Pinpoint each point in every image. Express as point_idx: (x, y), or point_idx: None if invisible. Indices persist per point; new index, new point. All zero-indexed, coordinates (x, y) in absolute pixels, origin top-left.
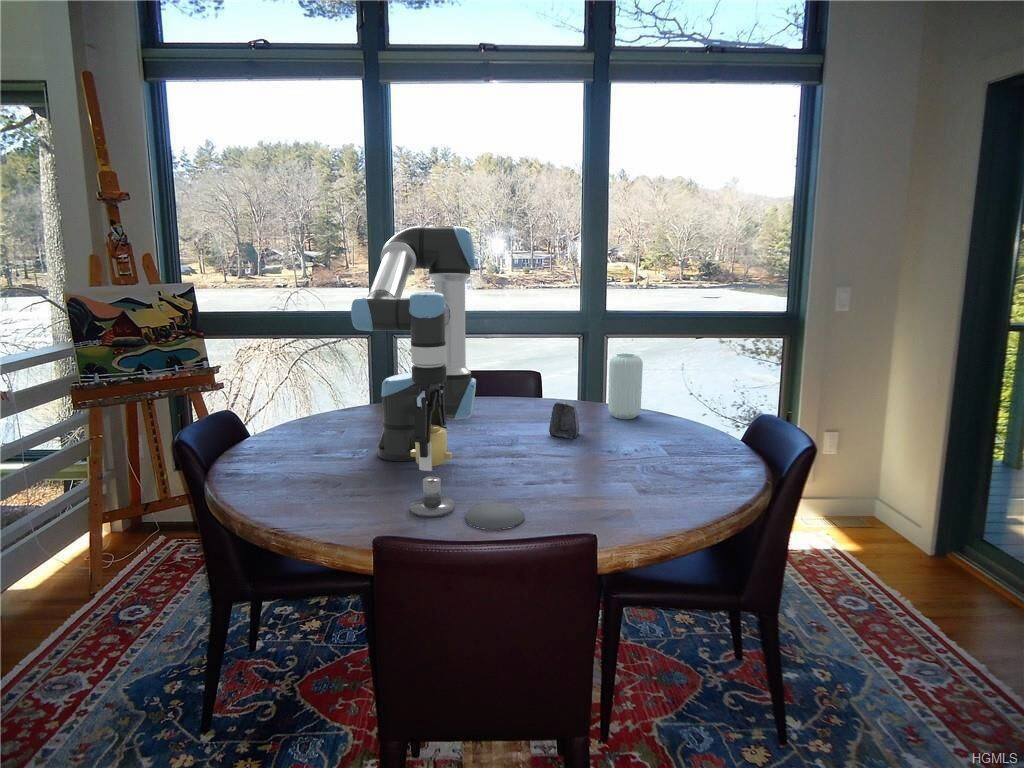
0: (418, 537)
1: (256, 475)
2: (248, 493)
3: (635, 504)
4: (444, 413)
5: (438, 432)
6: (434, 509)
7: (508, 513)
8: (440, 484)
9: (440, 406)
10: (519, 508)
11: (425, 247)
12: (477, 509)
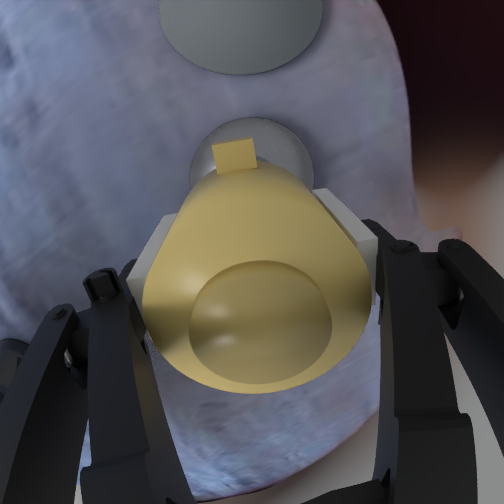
0: (409, 135)
1: (234, 472)
2: (295, 453)
3: None
4: (33, 362)
5: (281, 251)
6: (283, 157)
7: None
8: None
9: (43, 430)
10: None
11: None
12: (225, 52)
